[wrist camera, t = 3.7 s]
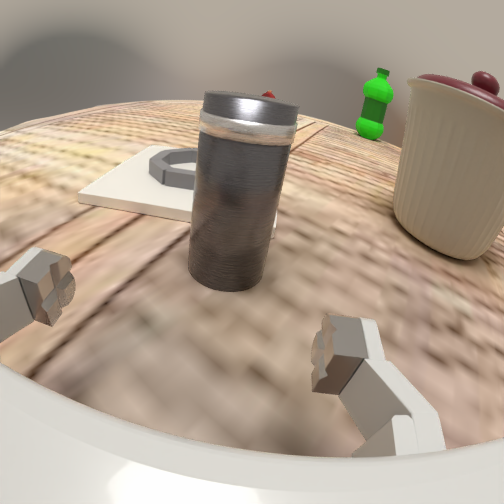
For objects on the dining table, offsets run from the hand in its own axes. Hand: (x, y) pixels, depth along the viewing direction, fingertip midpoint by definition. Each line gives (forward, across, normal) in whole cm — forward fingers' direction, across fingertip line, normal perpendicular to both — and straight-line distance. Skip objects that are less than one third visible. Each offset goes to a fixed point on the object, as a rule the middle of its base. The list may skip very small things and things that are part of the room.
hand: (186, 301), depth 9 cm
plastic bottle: (+96, -32, +6) cm, 102 cm away
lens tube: (+10, 0, +6) cm, 12 cm away
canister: (+24, -23, +6) cm, 34 cm away
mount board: (+24, +6, +6) cm, 26 cm away
